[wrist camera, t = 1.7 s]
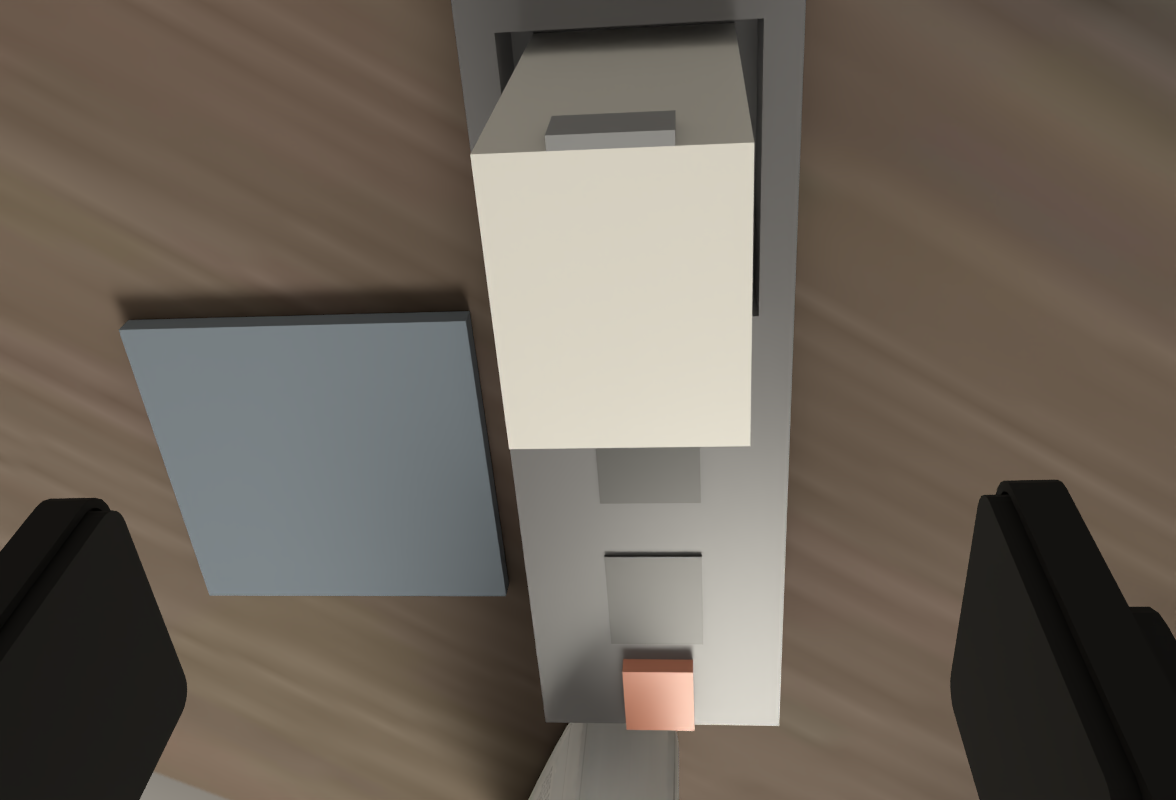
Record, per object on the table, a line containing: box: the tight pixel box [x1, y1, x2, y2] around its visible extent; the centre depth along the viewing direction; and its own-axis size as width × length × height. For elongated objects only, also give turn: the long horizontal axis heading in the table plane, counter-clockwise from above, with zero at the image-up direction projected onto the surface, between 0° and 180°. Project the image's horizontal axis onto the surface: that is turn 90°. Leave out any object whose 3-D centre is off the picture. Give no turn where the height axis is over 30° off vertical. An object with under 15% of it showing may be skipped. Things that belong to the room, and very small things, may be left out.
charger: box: [470, 23, 754, 449], centre depth 21 cm, size 4×6×8 cm
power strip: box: [451, 0, 806, 731], centre depth 27 cm, size 7×24×4 cm, turn 4°
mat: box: [119, 311, 509, 596], centre depth 32 cm, size 10×10×1 cm
